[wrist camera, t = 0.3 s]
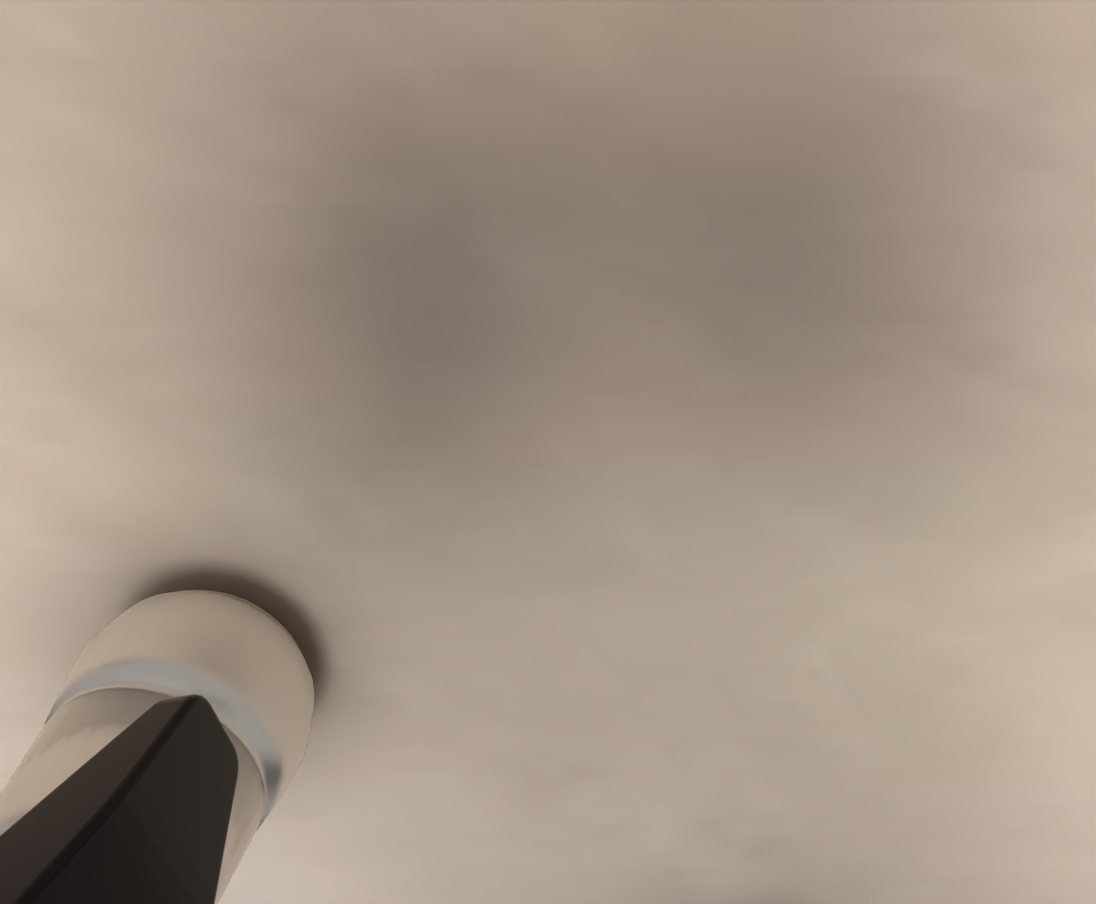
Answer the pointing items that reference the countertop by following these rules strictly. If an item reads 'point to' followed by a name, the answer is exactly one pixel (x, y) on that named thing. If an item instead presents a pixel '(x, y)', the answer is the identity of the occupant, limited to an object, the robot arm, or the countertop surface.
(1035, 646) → the countertop surface
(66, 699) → the plastic bottle
